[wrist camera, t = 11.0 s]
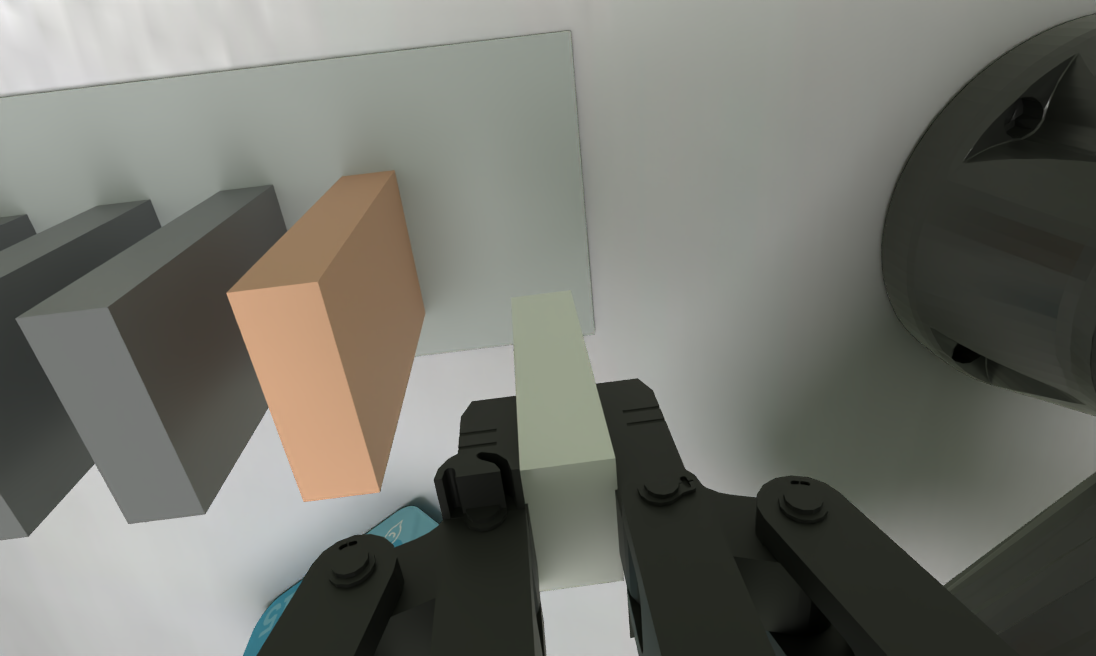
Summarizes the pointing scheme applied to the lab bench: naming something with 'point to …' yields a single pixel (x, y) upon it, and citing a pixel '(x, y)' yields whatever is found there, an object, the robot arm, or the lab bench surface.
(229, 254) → the domino
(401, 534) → the data package
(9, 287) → the domino
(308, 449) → the domino
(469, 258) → the mat
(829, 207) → the lab bench surface
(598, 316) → the lab bench surface
